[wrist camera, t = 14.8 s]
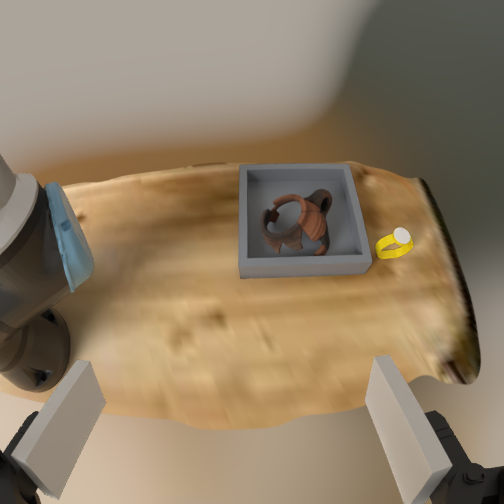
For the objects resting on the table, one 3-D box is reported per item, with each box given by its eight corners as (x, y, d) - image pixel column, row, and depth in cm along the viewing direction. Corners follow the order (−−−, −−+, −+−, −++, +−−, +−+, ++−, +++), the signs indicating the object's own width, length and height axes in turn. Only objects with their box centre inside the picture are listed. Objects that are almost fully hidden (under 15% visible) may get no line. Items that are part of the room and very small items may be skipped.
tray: (240, 278, 45) (238, 266, 42) (241, 180, 54) (239, 164, 50) (364, 274, 45) (372, 262, 41) (344, 179, 54) (348, 164, 50)
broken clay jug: (312, 281, 44) (286, 252, 38) (270, 257, 51) (241, 229, 45) (356, 215, 45) (338, 179, 40) (311, 200, 52) (289, 167, 47)
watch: (400, 246, 47) (416, 226, 42) (405, 261, 46) (422, 242, 41) (368, 248, 47) (382, 227, 42) (373, 264, 45) (388, 244, 40)
